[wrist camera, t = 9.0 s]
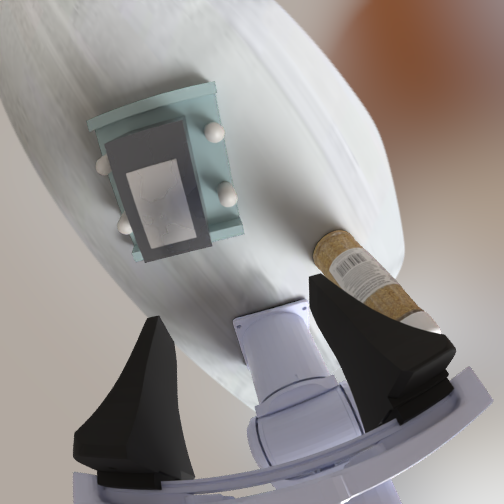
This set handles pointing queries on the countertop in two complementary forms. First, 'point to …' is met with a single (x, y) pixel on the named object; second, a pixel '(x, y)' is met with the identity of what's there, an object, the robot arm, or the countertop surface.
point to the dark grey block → (160, 189)
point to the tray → (203, 145)
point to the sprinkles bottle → (367, 280)
